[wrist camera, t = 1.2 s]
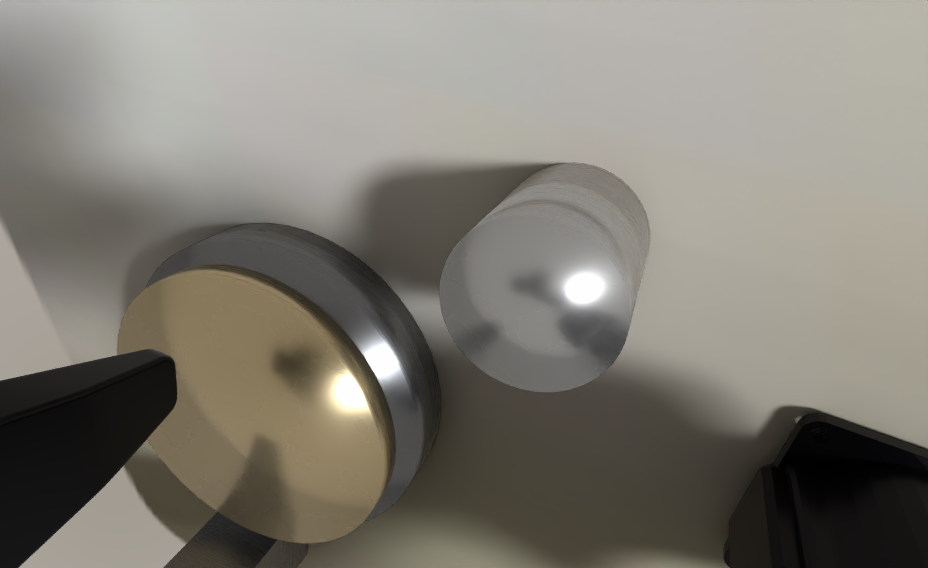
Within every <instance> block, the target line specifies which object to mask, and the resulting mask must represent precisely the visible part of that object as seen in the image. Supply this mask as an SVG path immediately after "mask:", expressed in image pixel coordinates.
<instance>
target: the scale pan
mask: <svg viewBox="0 0 928 568" xmlns="http://www.w3.org/2000/svg"><path fill="white" fill-rule="evenodd" d="M143 349H154V350H157V351H159V352H162V353H164V354H166V355H168V356H170V357H172V358H173V359H174V361H175V364H176V376H177V390H178V398H177V402H176V405H175V407H174V408H173V410H172V411H171V413H170V414H169V415H168V416H167V417H166V418H165V419H164V421H163V422H162V423H161V424H160V425H159V426H158V427H157V428H156V430H155V431H154V432H153V433H152V434H151V435H150V436H149V437H148V439H147V440H148V442H149V444H150V445H151V446H152V448H153V449H154V450H155V452H156V453H157V455H158V456H159V457H160V459H161V460H162V461H163V462H164V463H165V465H166V466H167V467H168V468H169V469H170V471H171V472H172V473H173V474H174V475H175V476H176V477H177V478H178V479H179V480H180V481H181V482H182V483H183V484H184V485H185V486H186V487H187V488H188V489H189V490H191V491H192V492H193V493H194V494H195V495H196V496H197V497H198V498H200V499H201V500H202V501H204V502H205V503H206V504H207V505H209V506H210V507H211V508H213V509H214V510H216V511H217V512H219V513H220V514H222V515H223V516H225V517H226V518H228V519H230V520H232V521H234V522H235V523H237V524H239V525H241V526H243V527H245V528H247V529H250V530H252V531H254V532H256V533H259V534H262V535H265V536H268V537H271V538H274V539H278V540H283V541H287V542H295V543H321V542H327V541H331V540H334V539H337V538H340V537H343V536H345V535H347V534H348V533H350V532H352V531H354V530H355V529H356V528H357V527H358V526H359V525H361V524H362V523H363V522H364V521H365V519H366V518H367V517H368V515H369V514H370V513H371V511H372V510H373V508H374V507H375V505H376V504H377V502H378V501H379V499H380V498H381V496H382V495H383V493H384V492H385V490H386V488H387V486H388V484H389V482H390V480H391V477H392V473H393V469H394V465H395V455H396V440H395V429H394V424H393V420H392V415H391V411H390V408H389V405H388V402H387V399H386V396H385V394H384V392H383V390H382V387H381V385H380V383H379V381H378V379H377V377H376V375H375V373H374V372H373V370H372V368H371V367H370V365H369V363H368V362H367V360H366V358H365V357H364V355H363V354H362V353H361V351H360V350H359V349H358V347H357V346H356V345H355V343H354V342H353V341H352V339H351V338H350V337H349V336H348V335H347V334H346V333H345V332H344V330H343V329H342V328H341V327H340V326H339V325H338V324H337V323H336V322H335V321H334V320H333V319H332V318H331V317H330V316H329V315H328V314H326V313H325V312H324V311H323V310H322V309H321V308H320V307H319V306H317V305H316V304H315V303H313V302H312V301H311V300H309V299H308V298H306V297H305V296H304V295H302V294H301V293H300V292H298V291H296V290H294V289H293V288H291V287H289V286H288V285H286V284H284V283H283V282H281V281H279V280H276V279H274V278H272V277H270V276H267V275H265V274H263V273H260V272H257V271H254V270H250V269H247V268H244V267H239V266H233V265H227V264H204V265H197V266H192V267H189V268H186V269H183V270H180V271H178V272H176V273H174V274H172V275H170V276H168V277H166V278H164V279H162V280H160V281H158V282H156V283H154V284H152V285H151V286H149V287H147V288H146V289H144V290H143V291H142V292H141V293H140V294H139V295H137V296H136V297H135V298H134V300H133V301H132V302H131V304H130V305H129V307H128V308H127V310H126V312H125V314H124V317H123V319H122V321H121V325H120V329H119V334H118V344H117V355H121V354H125V353H130V352H134V351H139V350H143Z"/></svg>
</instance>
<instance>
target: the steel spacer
mask: <svg viewBox="0 0 928 568" xmlns="http://www.w3.org/2000/svg"><path fill="white" fill-rule="evenodd" d="M649 245H650V228H649V222H648V218H647V215H646V212H645V210H644V207H643V205H642V203H641V202H640V200H639V198H638V197H637V195H636V194H635V193H634V192H633V190H632V189H631V188H630V187H629V186H628V185H627V184H626V183H625V182H624V181H622V180H621V179H620V178H618V177H617V176H615V175H614V174H612V173H610V172H608V171H606V170H604V169H602V168H599V167H596V166H593V165H588V164H584V163H562V164H556V165H552V166H549V167H546V168H543V169H541V170H539V171H537V172H535V173H534V174H532V175H531V176H529V177H528V178H527V179H526V180H524V181H523V182H522V183H521V184H520V185H519V186H518V187H517V188H516V189H515V190H513V191H512V192H511V193H510V194H509V195H508V196H507V197H506V198H505V199H504V200H503V201H502V202H501V203H500V204H498V205H497V206H496V207H495V208H494V209H493V210H492V211H491V212H490V213H489V214H488V215H487V216H486V217H484V218H483V219H482V220H481V221H480V222H479V223H478V224H477V225H476V226H475V227H474V228H473V229H472V230H471V231H469V232H468V233H467V234H466V235H465V236H464V237H463V238H462V239H461V240H460V241H459V242H458V243H457V245H456V246H455V247H454V248H453V250H452V251H451V253H450V255H449V256H448V258H447V260H446V263H445V265H444V267H443V271H442V275H441V279H440V288H439V294H440V305H441V311H442V315H443V318H444V322H445V324H446V326H447V329H448V331H449V333H450V335H451V336H452V338H453V340H454V342H455V343H456V345H457V346H458V347H459V349H460V350H461V351H462V352H463V354H464V355H465V356H466V357H467V358H468V359H469V360H470V361H471V362H472V363H473V364H474V365H476V366H477V367H478V368H479V369H481V370H482V371H483V372H485V373H486V374H488V375H489V376H491V377H493V378H495V379H496V380H498V381H500V382H503V383H505V384H507V385H510V386H513V387H516V388H519V389H523V390H528V391H535V392H559V391H566V390H570V389H574V388H577V387H580V386H582V385H585V384H587V383H589V382H591V381H592V380H594V379H596V378H597V377H599V376H600V375H601V374H602V373H604V372H605V371H606V370H607V369H608V368H609V367H610V366H611V365H612V364H613V363H614V361H615V360H616V358H617V357H618V355H619V354H620V352H621V350H622V348H623V346H624V344H625V341H626V337H627V334H628V330H629V327H630V323H631V319H632V315H633V311H634V307H635V303H636V299H637V295H638V291H639V287H640V283H641V279H642V275H643V271H644V267H645V263H646V259H647V255H648V251H649Z"/></svg>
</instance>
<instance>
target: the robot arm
mask: <svg viewBox="0 0 928 568" xmlns="http://www.w3.org/2000/svg"><path fill="white" fill-rule="evenodd" d="M177 398H178V390H177V376H176V364H175V361H174V359H173V358H172V357H170V356H168V355H166V354H164V353H162V352H159V351H157V350H154V349H143V350H139V351H134V352H130V353H125V354H121V355H116V356H112V357H107V358H102V359H98V360H93V361H89V362H84V363H80V364H75V365H70V366H66V367H62V368H57V369H52V370H48V371H43V372H38V373H34V374H29V375H25V376H20V377H16V378H11V379H6V380H2V381H0V568H19V567H20V566H21V564H23V563H24V562H25V561H26V560H27V559H28V558H29V557H30V556H31V555H32V554H33V553H35V551H37V550H38V549H39V548H40V547H41V546H42V545H43V544H44V543H45V542H46V541H47V540H48V539H49V538H51V536H53V535H54V534H55V533H56V532H57V531H58V530H59V529H60V528H61V527H62V526H63V525H64V524H65V523H66V522H67V521H69V520H70V519H71V518H72V517H73V516H74V515H75V514H76V513H77V512H78V511H79V510H80V509H81V508H82V507H84V506H85V504H87V503H88V502H89V501H90V500H91V499H92V498H93V497H94V496H95V495H96V494H97V493H98V492H99V491H100V490H101V489H102V488H103V487H104V486H105V485H106V484H107V483H108V482H109V481H110V480H111V479H112V478H113V477H114V475H115V474H116V473H117V472H118V471H119V470H120V469H121V468H122V467H123V466H124V464H125V463H126V462H127V461H128V460H129V459H130V458H131V457H132V455H133V454H134V453H135V452H136V451H137V450H138V449H139V448H140V446H141V445H142V444H143V443H144V442H145V441H146V440H147V439H148V437H149V436H150V435H151V434H152V433H153V432H154V431H155V430H156V428H157V427H158V426H159V425H160V424H161V423H162V422H163V421H164V419H165V418H166V417H167V416H168V415H169V414H170V413H171V411H172V410H173V408H174V407H175V405H176V402H177ZM817 428H819V429H824V430H826V432H825V433H823V434H820V435H815V434H812V433H810V432H811V431H812V430H813V429H817ZM723 550H724V561H725V563H726V564H727V565H728V566H729V567H730V568H928V450H925V449H922V448H920V447H917V446H914V445H911V444H908V443H905V442H902V441H900V440H897V439H894V438H891V437H888V436H885V435H883V434H880V433H877V432H874V431H871V430H868V429H865V428H863V427H860V426H857V425H854V424H851V423H848V422H845V421H843V420H840V419H837V418H834V417H831V416H828V415H825V414H821V413H811V414H808V415H805V416H803V417H802V418H801V419H800V420H799V421H798V423H797V425H796V426H795V428H794V430H793V431H792V433H791V435H790V436H789V438H788V440H787V441H786V443H785V445H784V446H783V448H782V450H781V451H780V453H779V455H778V456H777V458H776V460H775V461H774V463H773V465H771V464H768V465H765V466H763V467H761V468H760V469H759V470H758V472H757V474H756V475H755V477H754V479H753V480H752V482H751V484H750V486H749V487H748V489H747V491H746V492H745V494H744V496H743V497H742V499H741V501H740V503H739V504H738V506H737V508H736V509H735V511H734V513H733V514H732V516H731V518H730V520H729V538H728V539H727V541H726V543H725V545H724V548H723Z"/></svg>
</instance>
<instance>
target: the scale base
mask: <svg viewBox="0 0 928 568" xmlns="http://www.w3.org/2000/svg"><path fill="white" fill-rule="evenodd" d="M204 264H227V265H233V266H239V267H244V268H247V269H250V270H254V271H257V272H260V273H263V274H265V275H267V276H270V277H272V278H274V279H276V280H279V281H281V282H283V283H284V284H286V285H288V286H289V287H291V288H293V289H294V290H296V291H298V292H300V293H301V294H302V295H304V296H305V297H306V298H308V299H309V300H311V301H312V302H313V303H315V304H316V305H317V306H319V307H320V308H321V309H322V310H323V311H324V312H325V313H326V314H328V315H329V316H330V317H331V318H332V319H333V320H334V321H335V322H336V323H337V324H338V325H339V326H340V327H341V328H342V329H343V330H344V332H345V333H346V334H347V335H348V336H349V337H350V338H351V339H352V341H353V342H354V343H355V345H356V346H357V347H358V349H359V350H360V351H361V353H362V354H363V355H364V357H365V358H366V360H367V362H368V363H369V365H370V367H371V368H372V370H373V372H374V373H375V375H376V377H377V379H378V381H379V383H380V385H381V387H382V390H383V392H384V394H385V396H386V399H387V402H388V405H389V408H390V411H391V415H392V420H393V424H394V429H395V440H396V455H395V465H394V469H393V473H392V477H391V480H390V482H389V484H388V486H387V488H386V490H385V492H384V493H383V495H382V496H381V498H380V499H379V501H378V502H377V504H376V505H375V507H374V508H373V510H372V511H371V513H370V514H369V515H368V517H367V518H366V519H365V521H367V520H370V519H372V518H375V517H376V516H378V515H380V514H382V513H383V512H385V511H386V510H388V509H389V508H390V507H391V506H392V505H393V504H395V503H396V502H397V501H398V499H399V498H400V497H401V495H402V494H403V493H404V492H405V490H406V489H407V487H408V485H409V484H410V482H411V481H412V479H413V478H414V476H415V474H416V473H417V471H418V470H419V468H420V466H421V465H422V463H423V462H424V460H425V459H426V457H427V455H428V453H429V452H430V450H431V448H432V446H433V444H434V441H435V438H436V435H437V432H438V428H439V422H440V414H441V393H440V386H439V380H438V374H437V371H436V367H435V364H434V361H433V357H432V354H431V352H430V350H429V347H428V345H427V343H426V340H425V338H424V336H423V334H422V332H421V330H420V329H419V327H418V325H417V323H416V322H415V320H414V318H413V316H412V315H411V313H410V312H409V311H408V309H407V308H406V307H405V305H404V304H403V302H402V301H401V300H400V298H399V297H398V296H397V295H396V294H395V292H394V291H393V290H392V289H391V288H390V287H389V286H388V285H387V284H386V283H385V281H384V280H383V279H382V278H381V277H379V276H378V275H377V274H376V273H375V272H374V271H373V270H372V269H371V268H369V267H368V266H367V265H366V264H365V263H363V262H362V261H361V260H359V259H358V258H357V257H355V256H354V255H352V254H351V253H350V252H348V251H347V250H345V249H343V248H342V247H340V246H338V245H336V244H335V243H333V242H331V241H329V240H327V239H325V238H323V237H320V236H318V235H316V234H313V233H311V232H308V231H305V230H302V229H298V228H294V227H291V226H286V225H279V224H271V223H256V224H247V225H241V226H236V227H233V228H230V229H228V230H225V231H222V232H220V233H218V234H216V235H214V236H211V237H209V238H207V239H205V240H203V241H200V242H198V243H196V244H194V245H192V246H189V247H187V248H185V249H183V250H181V251H179V252H178V253H176V254H174V255H173V256H171V257H170V258H168V259H167V260H166V261H165V262H164V263H163V264H162V265H161V266H160V267H159V268H158V269H157V270H156V271H155V273H154V274H153V276H152V277H151V279H150V280H149V282H148V284H147V287H149V286H151V285H152V284H154V283H156V282H158V281H160V280H162V279H164V278H166V277H168V276H170V275H172V274H174V273H176V272H178V271H180V270H183V269H186V268H189V267H192V266H197V265H204ZM147 287H146V288H147ZM307 549H308V543H295V542H287V541H283V540H278V539H274V538H271V537H268V536H265V535H262V534H259V533H256V532H254V531H252V530H250V529H247V528H245V527H243V526H241V525H239V524H237V523H235V522H234V521H232V520H230V519H228V518H226V517H225V516H223V515H222V514H220V513H219V512H217V513H216V514H215V515H214V516H213V518H212V519H211V520H210V521H209V522H208V523H207V524H206V525H205V526H204V527H203V528H202V529H201V530H200V531H199V532H198V533H197V534H196V535H195V536H194V537H193V538H192V539H191V540H190V541H189V542H188V543H187V544H186V545H185V546H184V547H183V548H182V549H181V550H180V551H179V552H178V553H177V555H175V556H174V557H173V559H172V560H170V562H169V563H168V564H167V565H166V566H165V567H164V568H297V567H298V566H299V564H300V563H301V562H302V560H303V559H304V558H305V556H306V555H307Z"/></svg>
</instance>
